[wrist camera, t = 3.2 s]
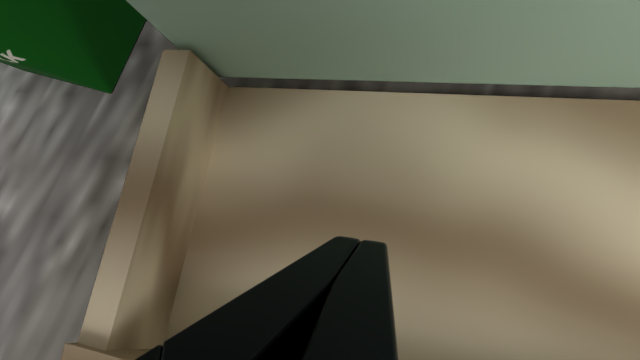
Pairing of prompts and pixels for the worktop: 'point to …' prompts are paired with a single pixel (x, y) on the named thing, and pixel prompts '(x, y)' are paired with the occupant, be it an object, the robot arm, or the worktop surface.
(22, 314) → the worktop surface
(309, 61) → the sage green panel
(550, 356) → the beige open tray
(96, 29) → the milk carton
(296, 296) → the robot arm
